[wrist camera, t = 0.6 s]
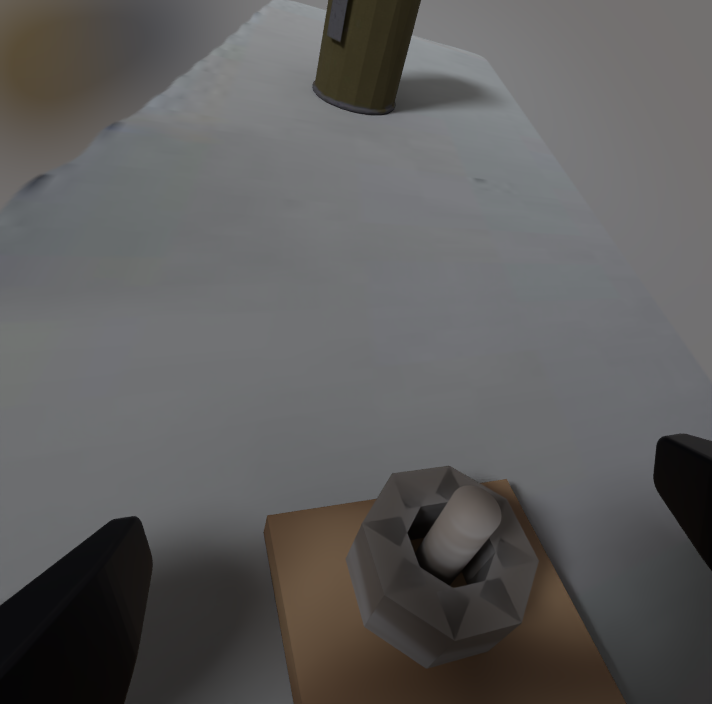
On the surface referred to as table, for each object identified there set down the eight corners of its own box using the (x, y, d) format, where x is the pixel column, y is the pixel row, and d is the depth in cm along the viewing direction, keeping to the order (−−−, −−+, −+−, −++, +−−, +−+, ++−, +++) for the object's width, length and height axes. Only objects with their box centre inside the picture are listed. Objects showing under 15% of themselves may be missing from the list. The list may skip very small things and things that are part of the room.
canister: (350, 77, 71) (390, -117, 58) (410, 109, 67) (467, -91, 54) (291, 84, 64) (320, -135, 51) (354, 120, 60) (404, -106, 47)
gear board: (716, 933, 17) (919, 942, 12) (371, 1143, 13) (479, 1278, 8) (494, 495, 28) (559, 409, 23) (263, 532, 23) (284, 436, 19)
